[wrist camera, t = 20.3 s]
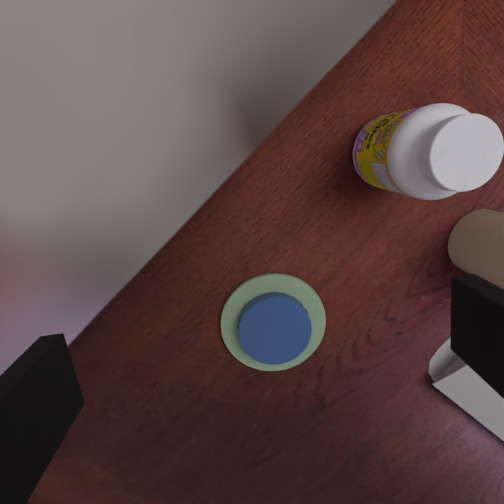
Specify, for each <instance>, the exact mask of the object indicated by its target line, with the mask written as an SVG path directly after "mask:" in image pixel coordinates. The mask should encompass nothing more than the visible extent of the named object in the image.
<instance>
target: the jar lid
mask: <svg viewBox="0 0 504 504" xmlns="http://www.w3.org/2000/svg"><path fill="white" fill-rule="evenodd" d="M237 331H238V339H239V341H240V344H241V346H242V348H243V349H244V351H245V352H246V353H247V354H248V355H249V356H250V357H251V358H253V359H254V360H256V361H258V362H260V363H264V364H269V365H278V364H283V363H287V362H289V361H291V360H293V359H295V358H296V357H298V356H299V355H300V354H301V353H302V352H303V351H304V350H305V349H306V347H307V345H308V343H309V341H310V338H311V333H312V326H311V320H310V318H309V316H308V312H307V310H306V309H305V308H304V306H303V305H302V303H301V302H299V301H298V300H297V299H296V298H294V296H291V295H288V294H286V293H281V292H276V291H275V292H269V293H264V294H261V295H259V296H256V297H255V298H253V299H252V300H251V301H249V302H248V303H247V305H246V306H245V307H244V308H243V310H242V312H241V314H240V316H239V321H238V325H237Z"/></svg>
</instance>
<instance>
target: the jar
mask: <svg viewBox="0 0 504 504" xmlns="http://www.w3.org/2000/svg"><path fill="white" fill-rule="evenodd" d="M448 253H449V256H450V259H451V261H452V262H453V264H454V265H455V266H456V267H457V268H459V269H460V270H462V271H464V272H466V273H468V274H476V275H478V276H479V277H481V278H483V279H485V280H487V281H489V282H491V283H493V284H494V285H496V286H498V287H500V288H502V289H504V212H502V211H498V210H493V209H479V210H475V211H473V212H470V213H468V214H467V215H465V216H464V217H463V218H461V219H460V220H459V221H458V222H457V224H456V225H455V226H454V228H453V229H452V231H451V233H450V236H449V240H448Z"/></svg>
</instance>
